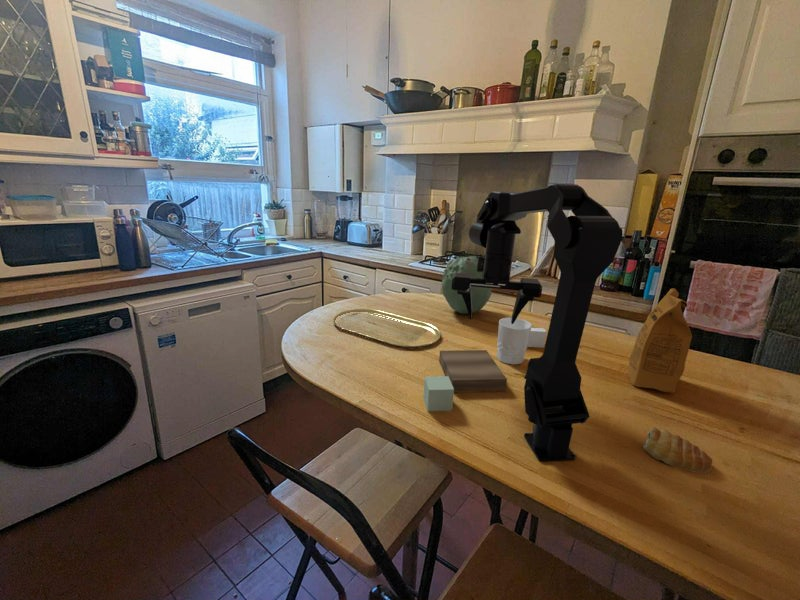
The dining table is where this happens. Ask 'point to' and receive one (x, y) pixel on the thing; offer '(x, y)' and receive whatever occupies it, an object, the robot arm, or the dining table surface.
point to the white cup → (512, 340)
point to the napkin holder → (537, 337)
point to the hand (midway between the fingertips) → (491, 321)
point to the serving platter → (396, 317)
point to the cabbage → (478, 293)
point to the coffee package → (661, 346)
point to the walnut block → (472, 371)
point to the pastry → (676, 451)
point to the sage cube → (438, 393)
